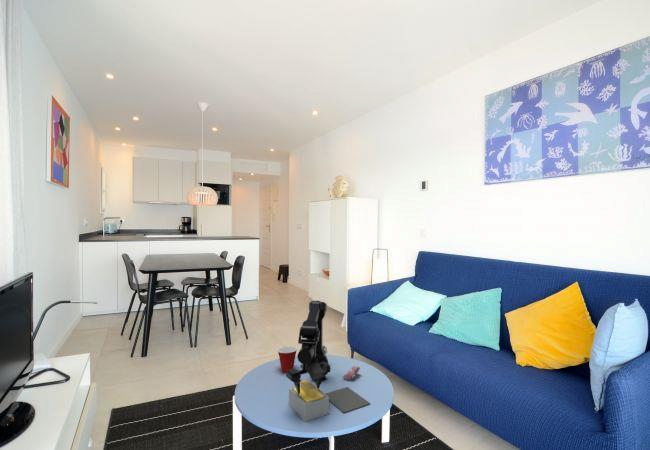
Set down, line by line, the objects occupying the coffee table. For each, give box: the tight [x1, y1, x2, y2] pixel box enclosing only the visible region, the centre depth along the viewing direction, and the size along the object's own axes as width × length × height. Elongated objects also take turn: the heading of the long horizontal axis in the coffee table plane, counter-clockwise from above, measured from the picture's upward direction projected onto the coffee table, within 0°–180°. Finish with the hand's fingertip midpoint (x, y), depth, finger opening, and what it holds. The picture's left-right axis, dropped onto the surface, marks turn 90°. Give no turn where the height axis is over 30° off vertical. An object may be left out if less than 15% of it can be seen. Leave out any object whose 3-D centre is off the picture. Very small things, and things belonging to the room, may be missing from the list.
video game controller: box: [342, 365, 361, 381], centre depth 172 cm, size 10×5×7 cm, turn 148°
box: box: [288, 384, 330, 423], centre depth 142 cm, size 11×15×7 cm
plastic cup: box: [276, 345, 298, 374], centre depth 179 cm, size 11×11×12 cm
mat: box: [324, 386, 371, 414], centre depth 150 cm, size 14×17×1 cm
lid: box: [293, 379, 325, 403], centre depth 142 cm, size 8×12×4 cm
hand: (308, 391), depth 142 cm, fingers open, 9 cm apart
